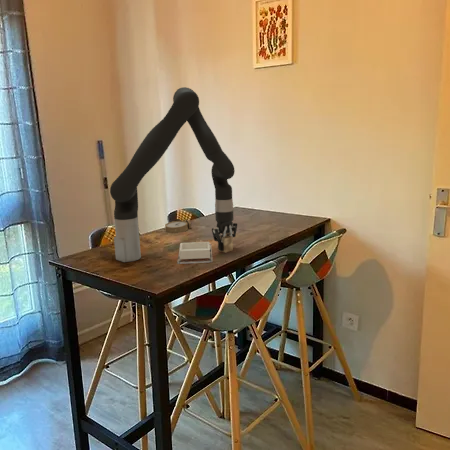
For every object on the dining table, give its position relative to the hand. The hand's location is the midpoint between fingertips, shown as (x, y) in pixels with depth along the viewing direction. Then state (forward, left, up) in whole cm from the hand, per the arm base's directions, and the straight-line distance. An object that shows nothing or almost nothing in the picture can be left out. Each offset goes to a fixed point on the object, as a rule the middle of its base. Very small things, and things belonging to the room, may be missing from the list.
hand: (225, 248), depth 199 cm
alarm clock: (+14, +44, -1) cm, 46 cm away
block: (0, 0, -1) cm, 1 cm away
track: (-11, +7, -1) cm, 13 cm away
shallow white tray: (-14, +4, -1) cm, 15 cm away
